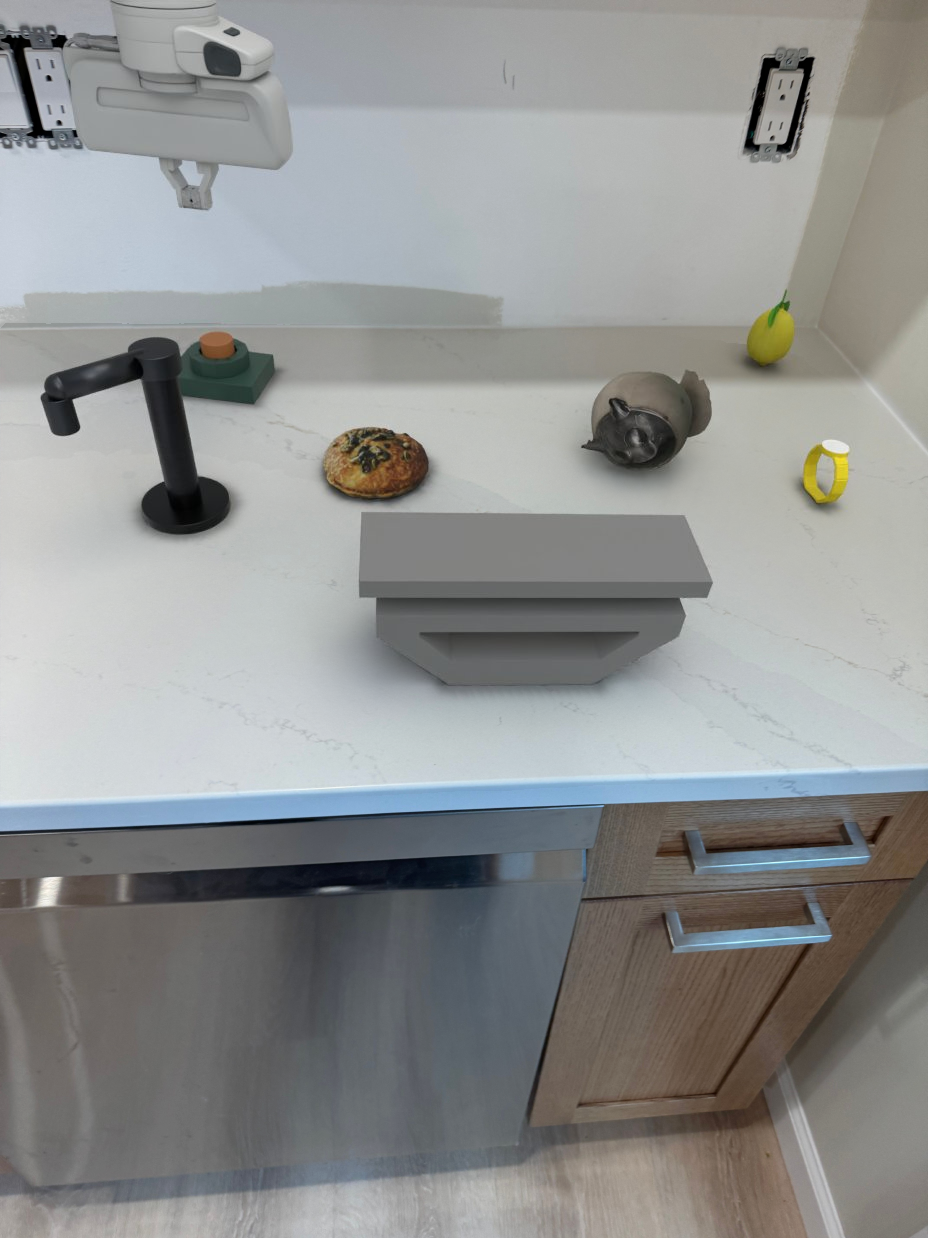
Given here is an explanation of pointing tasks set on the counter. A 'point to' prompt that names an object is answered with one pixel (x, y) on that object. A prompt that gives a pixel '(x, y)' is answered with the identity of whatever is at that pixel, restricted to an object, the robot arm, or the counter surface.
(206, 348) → the tap button
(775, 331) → the lemon
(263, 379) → the control block
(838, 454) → the watch
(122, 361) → the spout
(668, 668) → the counter surface
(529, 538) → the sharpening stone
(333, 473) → the bread roll
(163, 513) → the faucet base
